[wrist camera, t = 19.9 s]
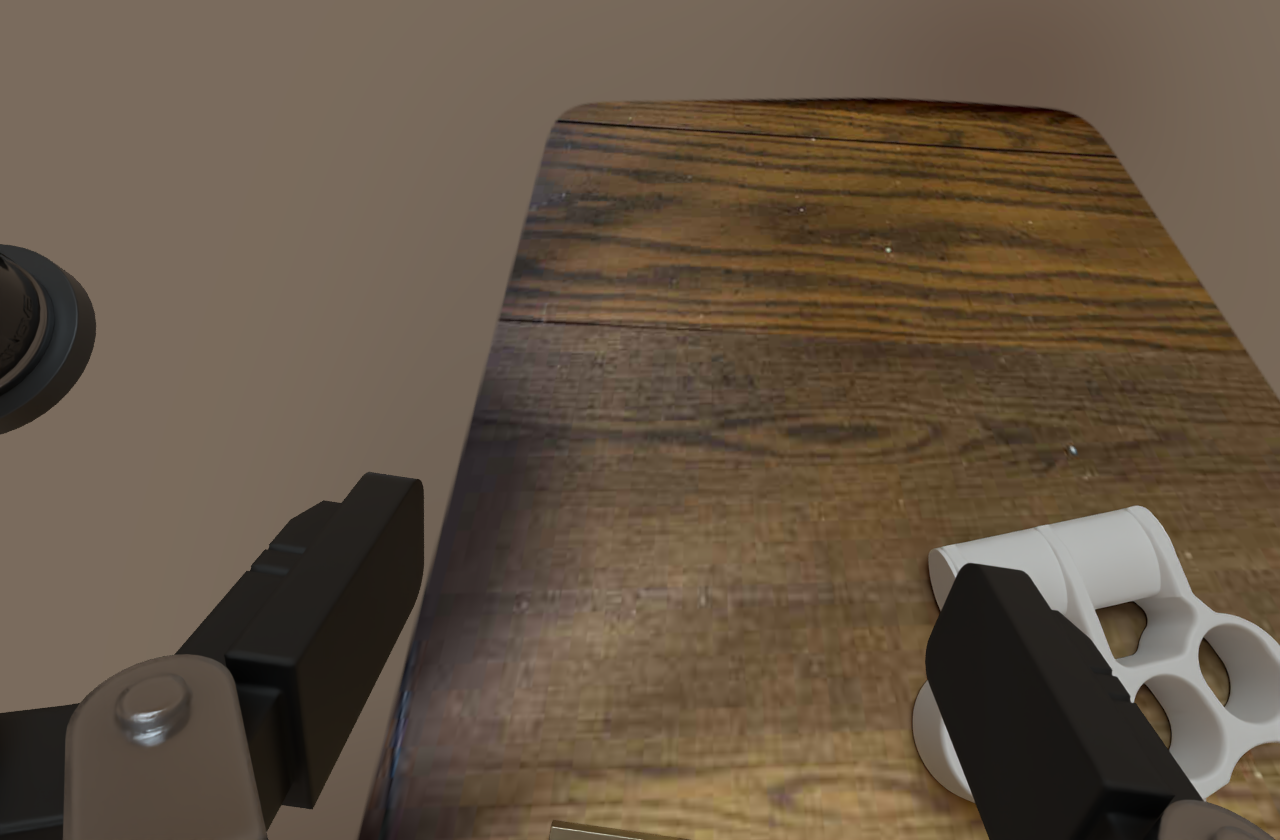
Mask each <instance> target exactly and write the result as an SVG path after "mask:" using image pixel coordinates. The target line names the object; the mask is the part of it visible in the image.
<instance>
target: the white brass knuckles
mask: <svg viewBox="0 0 1280 840" xmlns="http://www.w3.org/2000/svg"><path fill="white" fill-rule="evenodd" d="M928 562H929V573H930V579H931V584H932V588H933V592H934V595H935V598H936V601H937V604H938V606H939V609H940V611H941V610H942V608H943V605H944V603H945V601H946V599H947V596H948V594H949V592H950V590H951V587H952V585H953V583H954V580H955V578H956V576H957V574H958V572H959V570H960V569H961V568H962V567H963V566H964V565H965V564H967V563H976V564H983V565H989V566H996V567H1003V568H1010V569H1016V570H1022V571H1024V572H1025V573H1027V574H1028V575H1029V577H1030V578H1031V579H1032V581H1033V582H1034V584H1035V585H1036V587H1037V588H1038V590H1039V591H1040V593H1041V594H1042V596H1043V597H1044V599H1045V600H1046V602H1047V603H1048V605H1049V606H1050V608H1051V609H1052V610H1057V611H1059V612H1060V613H1061V614H1063V615H1064V616H1065V617H1066V618H1067V619H1068V620H1069V621H1071V622H1072V623H1073V624H1074V625H1075V626H1076V627H1077V628H1079V629H1080V630H1081V631H1082V632H1083V633H1084V634H1085V635H1087V636H1088V637H1089V638H1090V639H1091V640H1092V641H1093V643H1094V644H1095V646H1096V647H1097V649H1098V650H1099V652H1100V653H1101V654H1102V656H1103V657H1104V659H1105V660H1106V662H1107V663H1108V664H1109V666H1110V667H1111V669H1112V670H1113V671H1112V675H1113V676H1116V677H1118V679H1119V680H1120V682H1121V683H1122V684H1123V686H1124V687H1125V689H1126V690H1127V692H1128V693H1129V694H1130V696H1131V697H1130V701H1131V703H1134V700H1135V696H1136V694H1137V691H1138V690H1139V688H1140V687H1141V685H1142V684H1143V683H1144V684H1145V685H1146V686H1147V687H1148V688H1149V689H1150V690H1151V691H1152V693H1153V694H1154V696H1155V697H1156V698H1157V700H1158V701H1159V703H1160V704H1161V706H1162V707H1163V709H1164V710H1165V712H1166V714H1167V716H1168V719H1169V722H1170V725H1171V732H1172V739H1171V745H1170V749H1169V752H1170V753H1171V754H1172V756H1173V757H1174V759H1175V760H1176V762H1177V763H1178V765H1179V766H1180V767H1181V769H1182V770H1183V772H1184V773H1185V775H1186V776H1187V777H1188V779H1189V780H1190V782H1191V783H1192V785H1193V786H1194V787H1195V789H1196V790H1197V792H1198V793H1199V795H1200V796H1201V797H1202V799H1203V800H1204V802H1206V798H1207V797H1208V796H1210V795H1211V794H1213V793H1214V792H1216V791H1217V790H1219V789H1220V788H1222V787H1223V786H1224V785H1226V784H1227V783H1229V780H1230V777H1231V774H1232V771H1233V769H1234V767H1235V765H1236V763H1237V762H1238V760H1239V759H1240V758H1241V757H1242V756H1243V755H1244V754H1245V753H1246V752H1247V751H1248V750H1250V749H1252V748H1253V747H1255V746H1258V745H1261V744H1265V743H1280V646H1279V644H1278V643H1277V642H1276V641H1275V640H1274V639H1273V638H1272V637H1271V636H1270V635H1269V634H1268V633H1266V632H1265V631H1264V630H1263V629H1261V628H1260V627H1258V626H1257V625H1255V624H1253V623H1251V622H1250V621H1247V620H1245V619H1243V618H1240V617H1237V616H1234V615H1230V614H1224V613H1216V612H1214V611H1213V610H1211V609H1210V608H1209V607H1208V606H1207V605H1205V604H1204V603H1203V602H1202V601H1200V600H1199V599H1198V598H1197V597H1196V596H1195V595H1194V594H1193V593H1192V591H1191V588H1190V586H1189V583H1188V581H1187V579H1186V576H1185V574H1184V572H1183V569H1182V567H1181V564H1180V562H1179V560H1178V558H1177V556H1176V553H1175V550H1174V547H1173V545H1172V543H1171V540H1170V538H1169V536H1168V535H1167V533H1166V531H1165V530H1164V528H1163V527H1162V525H1161V524H1160V522H1159V521H1158V520H1157V519H1156V517H1155V516H1154V515H1153V514H1152V513H1151V512H1150V511H1149V510H1148V509H1146V508H1144V507H1142V506H1133V507H1128V508H1125V509H1121V510H1116V511H1111V512H1106V513H1102V514H1097V515H1092V516H1087V517H1083V518H1078V519H1073V520H1068V521H1064V522H1059V523H1054V524H1049V525H1043V526H1038V527H1034V528H1031V529H1026V530H1021V531H1016V532H1012V533H1007V534H1002V535H997V536H993V537H988V538H983V539H978V540H974V541H969V542H964V543H959V544H953V545H948V546H944V547H940V548H936V549H932V550H931V551H930V553H929V557H928ZM1130 601H1134V602H1135V603H1136V604H1138V605H1139V606H1140V607H1141V608H1142V609H1143V610H1144V612H1145V613H1146V616H1147V627H1146V628H1145V630H1144V631H1143V633H1142V635H1141V638H1140V641H1139V645H1138V650H1137V652H1136V653H1135V654H1134V655H1132V656H1127V657H1123V658H1119V659H1115V658H1114V657H1113V655H1112V653H1111V651H1110V648H1109V645H1108V643H1107V640H1106V637H1105V635H1104V632H1103V630H1102V627H1101V624H1100V622H1099V619H1098V616H1097V614H1096V612H1095V609H1100V608H1104V607H1108V606H1113V605H1117V604H1121V603H1126V602H1130ZM1203 637H1204V638H1205V639H1206V640H1207V641H1208V642H1209V643H1210V645H1211V646H1212V648H1213V649H1214V650H1215V652H1216V653H1217V654H1218V656H1219V657H1220V658H1221V660H1222V661H1223V663H1224V665H1225V667H1226V669H1227V671H1228V674H1229V678H1230V686H1231V689H1230V696H1229V700H1228V702H1227V704H1226V706H1225V707H1223V705H1222V704H1221V703H1220V702H1219V700H1218V699H1217V697H1216V696H1215V695H1214V693H1213V692H1212V690H1211V689H1210V688H1209V686H1208V685H1207V683H1206V682H1205V680H1204V678H1203V675H1202V673H1201V670H1200V666H1199V660H1198V651H1199V646H1200V643H1201V640H1202V638H1203ZM913 735H914V740H915V744H916V747H917V750H918V752H919V755H920V757H921V759H922V761H923V763H924V764H925V766H926V768H927V769H928V770H929V772H930V773H931V774H932V776H933V777H934V778H935V779H936V780H937V781H938V782H939V783H940V784H941V785H942V786H944V787H945V788H946V789H948V790H949V791H950V792H952V793H954V794H956V795H957V796H959V797H962V798H964V799H966V800H969V801H971V802H973V803H975V801H974V798H973V796H972V793H971V791H970V788H969V785H968V783H967V780H966V778H965V775H964V773H963V770H962V767H961V765H960V762H959V760H958V757H957V755H956V752H955V749H954V747H953V744H952V742H951V739H950V737H949V734H948V731H947V729H946V726H945V724H944V721H943V719H942V716H941V713H940V711H939V708H938V706H937V703H936V701H935V698H934V696H933V693H932V690H931V688H930V685H929V682H928V680H927V681H926V683H925V684H924V685H923V687H922V688H921V690H920V692H919V694H918V696H917V699H916V702H915V705H914V710H913Z"/></svg>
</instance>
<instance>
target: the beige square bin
mask: <svg viewBox="0 0 1280 840" xmlns="http://www.w3.org/2000/svg"><path fill="white" fill-rule="evenodd" d="M549 840H689V839H682V838H675V837H668V836H661V835H654V834H647V833H640V832H633V831H626V830H619V829H612V828H605V827H598V826H591V825H584V824H577V823H570V822H563V821H556V820H553V822H552V825H551V831H550V837H549Z"/></svg>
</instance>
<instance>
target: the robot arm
mask: <svg viewBox="0 0 1280 840" xmlns="http://www.w3.org/2000/svg"><path fill="white" fill-rule="evenodd" d="M0 254H1V255H3V256H4V257H6V258H8V257H7V256H5V255H4V254H2V253H1V252H0ZM8 259H10V258H8ZM10 260H11V259H10ZM11 261H13V260H11ZM11 261H9V260H6V259H4V258H2V257H1V256H0V395H2V394H4V393H5V392H7V391H9V390H10V389H11V388H13V387H14V386H16V385H17V384H18V383H19V382H20V381H22V380H23V379H24V378H25V377H26V376H27V375H28V374H29V373H30V372H31V371H32V370H33V369H34V367H35V366H36V365H37V364H38V362H39V361H40V359H41V358H42V356H43V355H44V353H45V351H46V349H47V347H48V345H49V342H50V339H51V336H52V332H53V327H54V309H53V304H52V301H51V298H50V296H49V294H48V292H47V290H46V289H45V287H44V286H43V285H42V283H41V282H40V281H39V280H38V279H37V278H36V277H34V276H33V275H32V274H30V273H29V272H27V271H26V270H24V269H23V268H21V267H20V266H21V265H20V266H18V265H17V264H15V263H16V262H15V263H13V262H14V261H13V262H11ZM423 569H424V490H423V485H422V482H421V481H420V480H419V479H413V478H405V477H399V476H392V475H386V474H379V473H372V472H368V473H366V474H364V476H362V478H361V479H360V480H359V481H358V483H357V484H356V485H355V487H354V488H353V489H352V490H351V492H350V493H349V494H348V496H347V497H346V498H345V499H344V501H343V502H342V503H337V502H330V501H322V502H320V503H319V504H317V505H315V506H313V507H312V508H310V509H308V510H306V511H305V512H303V513H301V514H299V515H298V516H296V517H294V518H293V519H291V520H290V521H289V522H288V524H287V525H286V526H285V527H284V528H283V529H282V530H281V532H280V533H279V534H278V535H277V536H276V537H275V539H274V540H273V541H272V542H271V543H270V544H269V549H268V550H264V551H263V552H262V554H261V555H260V556H259V557H258V558H257V559H256V561H255V562H254V563H253V564H252V566H251V570H250V571H246V572H245V574H244V575H243V576H242V577H241V578H240V579H239V580H238V582H237V583H236V584H235V585H234V586H233V587H232V588H231V590H230V591H229V592H228V593H227V594H226V596H225V597H224V598H223V599H222V600H221V602H219V604H218V605H217V606H216V607H215V608H214V609H213V611H212V612H211V613H210V614H209V615H208V616H207V618H206V619H205V620H204V621H203V622H202V623H201V625H200V626H199V627H198V628H197V629H196V631H194V633H193V634H192V635H191V636H190V637H189V638H188V640H187V641H186V642H185V643H184V644H183V645H182V647H181V648H180V649H179V650H178V651H177V652H176V653H175V655H170V656H163V657H159V658H155V659H150V660H148V661H145V662H142V663H138V664H136V665H134V666H131V667H129V668H127V669H124V670H122V671H121V672H119V673H117V674H115V675H113V676H112V677H110V678H108V679H107V680H106V681H104V682H103V683H101V684H100V685H98V686H97V687H96V688H95V689H94V690H93V691H91V692H90V693H89V694H88V695H87V696H86V697H85V698H84V699H83V701H82V702H81V703H78V704H72V705H65V706H57V707H48V708H40V709H32V710H23V711H15V712H6V713H0V840H268V838H267V833H266V832H267V830H268V829H269V827H270V825H271V823H272V821H273V819H274V817H275V815H276V814H277V812H278V810H279V808H280V806H281V805H286V806H293V807H300V808H307V809H313V807H314V805H315V803H316V801H317V799H318V797H319V795H320V793H321V791H322V789H323V787H324V785H325V783H326V781H327V779H328V777H329V775H330V773H331V771H332V769H333V767H334V765H335V763H336V761H337V759H338V757H339V755H340V753H341V751H342V749H343V747H344V745H345V743H346V741H347V739H348V737H349V735H350V733H351V731H352V729H353V727H354V725H355V723H356V721H357V719H358V717H359V715H360V713H361V711H362V709H363V707H364V705H365V703H366V701H367V699H368V697H369V695H370V693H371V691H372V689H373V687H374V685H375V683H376V681H377V679H378V677H379V675H380V673H381V671H382V669H383V667H384V665H385V663H386V661H387V659H388V657H389V655H390V652H391V651H392V649H393V647H394V645H395V643H396V641H397V639H398V637H399V635H400V633H401V631H402V629H403V627H404V625H405V623H406V621H407V619H408V617H409V615H410V613H411V611H412V609H413V607H414V605H415V602H416V599H417V597H418V594H419V590H420V586H421V582H422V576H423ZM925 664H926V674H927V679H928V682H929V685H930V688H931V690H932V693H933V696H934V698H935V701H936V703H937V706H938V708H939V711H940V713H941V716H942V719H943V721H944V724H945V726H946V729H947V731H948V734H949V737H950V739H951V742H952V744H953V747H954V749H955V752H956V755H957V757H958V760H959V762H960V765H961V767H962V770H963V773H964V775H965V778H966V780H967V783H968V785H969V788H970V791H971V793H972V796H973V798H974V801H975V803H976V806H977V808H978V811H979V814H980V816H981V819H982V821H983V824H984V826H985V829H986V832H987V834H988V837H989V839H990V840H1275V839H1274V838H1273V837H1272V836H1270V835H1269V834H1268V833H1266V832H1265V831H1263V830H1262V829H1261V828H1259V827H1258V826H1256V825H1255V824H1253V823H1251V822H1250V821H1248V820H1247V819H1245V818H1243V817H1241V816H1239V815H1238V814H1236V813H1234V812H1232V811H1230V810H1227V809H1225V808H1223V807H1220V806H1218V805H1215V804H1211V803H1208V802H1204V800H1203V799H1202V797H1201V796H1200V795H1199V793H1198V792H1197V790H1196V789H1195V787H1194V786H1193V785H1192V783H1191V782H1190V780H1189V779H1188V777H1187V776H1186V775H1185V773H1184V772H1183V770H1182V769H1181V767H1180V766H1179V765H1178V763H1177V762H1176V760H1175V759H1174V757H1173V756H1172V754H1171V753H1170V752H1169V750H1168V749H1167V747H1166V746H1165V744H1164V743H1163V742H1162V740H1161V739H1160V737H1159V736H1158V734H1157V733H1156V732H1155V730H1154V729H1153V727H1152V726H1151V724H1150V723H1149V722H1148V720H1147V719H1146V717H1145V716H1144V714H1143V713H1142V712H1141V710H1140V709H1139V707H1138V706H1137V704H1136V703H1131V701H1130V697H1131V696H1130V694H1129V693H1128V692H1127V690H1126V689H1125V687H1124V686H1123V684H1122V683H1121V682H1120V680H1119V679H1118V677H1116V676H1113V675H1112V671H1113V670H1112V669H1111V667H1110V666H1109V664H1108V663H1107V662H1106V660H1105V659H1104V657H1103V656H1102V654H1101V653H1100V652H1099V650H1098V649H1097V647H1096V646H1095V644H1094V643H1093V641H1092V640H1091V639H1090V638H1089V637H1088V636H1087V635H1085V634H1084V633H1083V632H1082V631H1081V630H1080V629H1079V628H1077V627H1076V626H1075V625H1074V624H1073V623H1072V622H1071V621H1069V620H1068V619H1067V618H1066V617H1065V616H1064V615H1063V614H1061V613H1060V612H1059V611H1057V610H1052V609H1051V608H1050V606H1049V605H1048V603H1047V602H1046V600H1045V599H1044V597H1043V596H1042V594H1041V593H1040V591H1039V590H1038V588H1037V587H1036V585H1035V584H1034V582H1033V581H1032V579H1031V578H1030V577H1029V575H1028V574H1027V573H1025V572H1024V571H1022V570H1016V569H1010V568H1003V567H996V566H989V565H983V564H976V563H967V564H965V565H964V566H963V567H962V568H961V569H960V570H959V572H958V574H957V576H956V578H955V580H954V583H953V585H952V587H951V590H950V592H949V594H948V596H947V599H946V601H945V603H944V605H943V608H942V610H941V612H940V615H939V617H938V619H937V621H936V624H935V626H934V628H933V631H932V633H931V635H930V638H929V640H928V644H927V649H926V659H925Z"/></svg>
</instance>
